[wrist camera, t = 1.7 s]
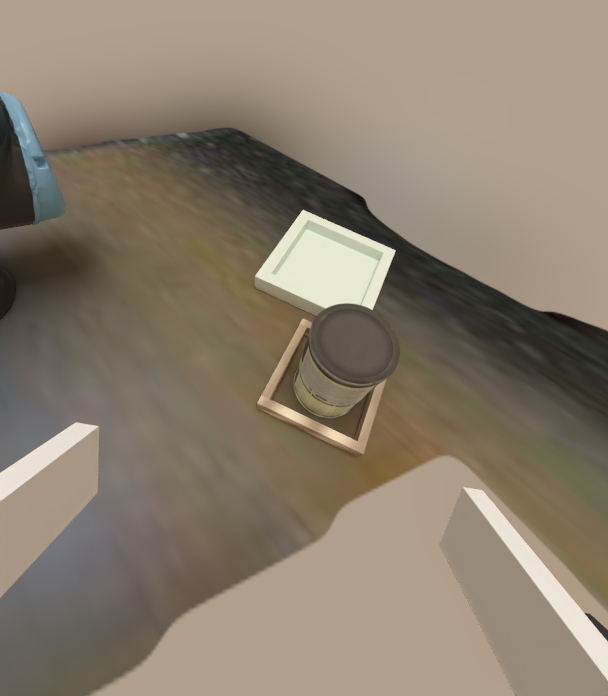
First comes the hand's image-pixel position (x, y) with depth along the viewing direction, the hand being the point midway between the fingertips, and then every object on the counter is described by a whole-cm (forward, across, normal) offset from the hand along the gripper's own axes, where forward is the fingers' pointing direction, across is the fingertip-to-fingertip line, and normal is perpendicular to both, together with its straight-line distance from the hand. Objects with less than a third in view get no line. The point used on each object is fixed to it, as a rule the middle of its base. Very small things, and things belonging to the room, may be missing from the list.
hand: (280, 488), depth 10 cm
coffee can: (+32, +6, -8) cm, 34 cm away
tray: (+47, +4, +8) cm, 48 cm away
